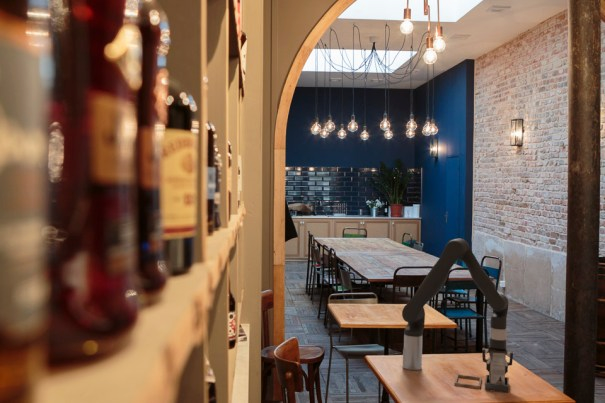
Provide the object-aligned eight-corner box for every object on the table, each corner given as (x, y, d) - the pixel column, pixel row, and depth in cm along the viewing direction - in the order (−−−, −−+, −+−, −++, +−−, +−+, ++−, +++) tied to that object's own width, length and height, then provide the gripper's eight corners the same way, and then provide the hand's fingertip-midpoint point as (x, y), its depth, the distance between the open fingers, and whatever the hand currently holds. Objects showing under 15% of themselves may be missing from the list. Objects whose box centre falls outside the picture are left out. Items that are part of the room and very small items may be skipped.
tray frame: (454, 385, 262) (454, 382, 262) (457, 376, 275) (457, 374, 275) (480, 388, 258) (480, 386, 258) (481, 379, 271) (481, 377, 271)
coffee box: (488, 379, 267) (489, 345, 266) (502, 380, 266) (503, 346, 265) (490, 385, 258) (491, 351, 258) (505, 386, 257) (506, 352, 256)
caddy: (484, 389, 257) (485, 383, 257) (486, 380, 270) (486, 374, 270) (508, 393, 254) (508, 386, 254) (508, 383, 266) (508, 377, 266)
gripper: (481, 337, 260) (480, 372, 261) (514, 341, 255) (513, 377, 256) (482, 333, 267) (481, 368, 268) (514, 337, 262) (513, 372, 263)
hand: (496, 372), depth 262 cm, fingers closed on coffee box, 7 cm apart
